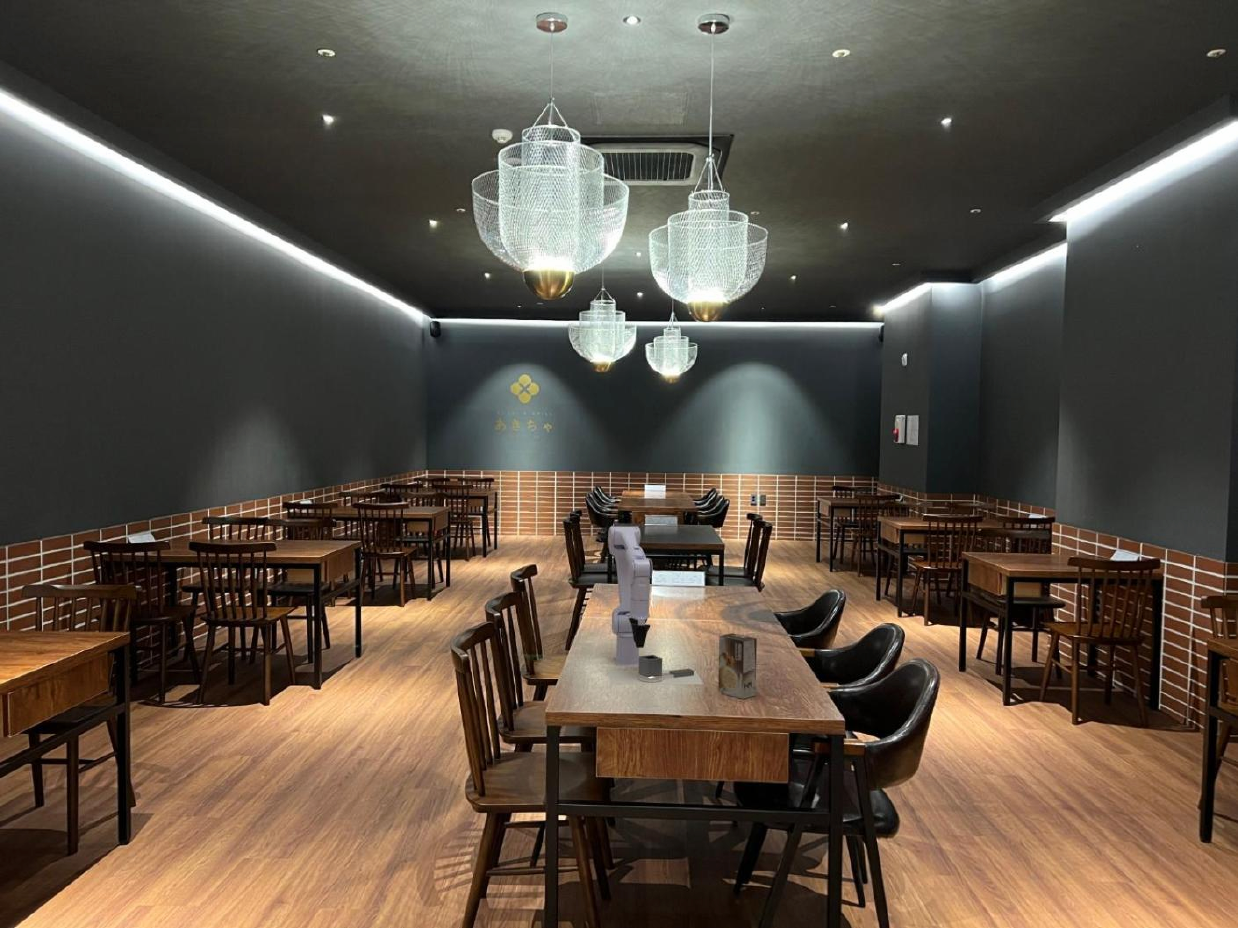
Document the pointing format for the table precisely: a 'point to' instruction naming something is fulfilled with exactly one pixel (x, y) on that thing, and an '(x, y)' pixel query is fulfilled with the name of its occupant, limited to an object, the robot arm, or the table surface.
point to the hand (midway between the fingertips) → (638, 644)
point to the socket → (650, 666)
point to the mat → (632, 678)
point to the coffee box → (737, 665)
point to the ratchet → (666, 675)
